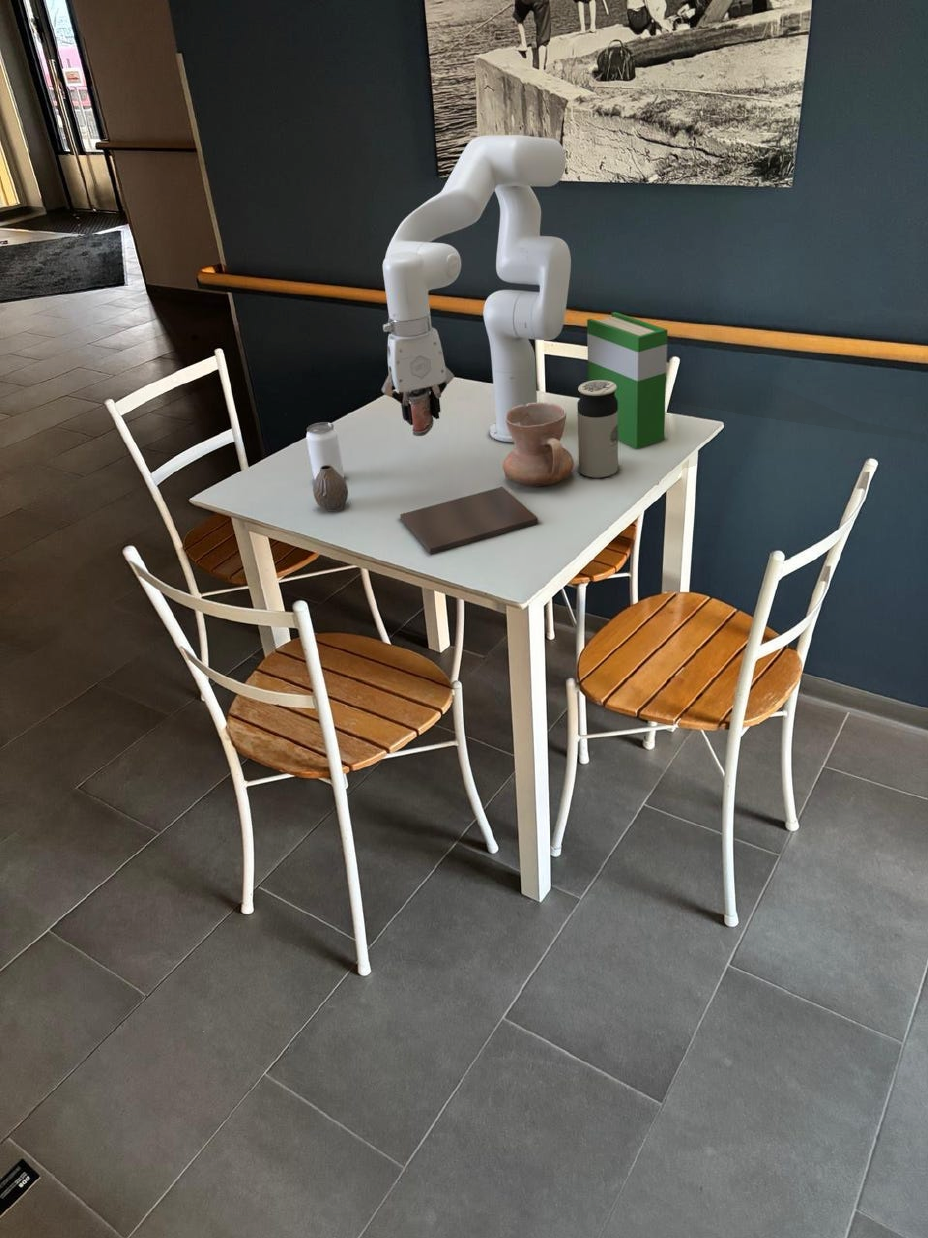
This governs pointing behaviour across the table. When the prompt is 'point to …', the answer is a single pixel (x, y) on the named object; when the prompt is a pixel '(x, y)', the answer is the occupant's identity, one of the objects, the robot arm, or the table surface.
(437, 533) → the walnut board
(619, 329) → the hardback book
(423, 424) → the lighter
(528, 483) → the ceramic jug
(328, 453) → the can
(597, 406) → the travel mug
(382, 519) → the table surface
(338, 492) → the vase
